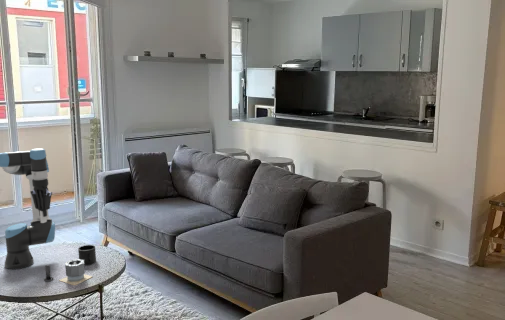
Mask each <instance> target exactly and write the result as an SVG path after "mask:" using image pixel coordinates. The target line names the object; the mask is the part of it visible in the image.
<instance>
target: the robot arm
mask: <svg viewBox="0 0 505 320" xmlns="http://www.w3.org/2000/svg"><path fill="white" fill-rule="evenodd" d="M0 168H2V170H3V171H4V172H5V173H7V174H10V175H13V176H14V175H15V176H16V175H17V176H22V175H24V176H25V178H26V179H28V183H29V184H28V185H29V192H30V202H31V211H32V220H30V221H31V222H30V225H28V224H27V223H24V222H22V223H16V224H12V225H10V226H9V227H6V229H5V230H4V234H5V235H4V239H5V245H6V256H5V260H4V268H6V269H8V270H17V269H19V270H20V269H24V268H27V267H29V266H31V265H33V264H34V257H33V255H32V253H31V251H30V246H36V245H37V246H38V245H44V244H50V243H52V242H54V241H55V236H56V223H55V222H54V221H53V220H52V218H51V217H50V216H49V210H50V208H51V202H52V201H51V200H52V195H53V192H52V191H49V188H48V186H49V178H48V174H49V172H50V168H49V163H48V160H47V153H46V149H45V148H41V147H40V148H39V147H38V148H32V149H30V150H23V151H10V152H9V151H7V152H5V151H4V152H0Z"/></svg>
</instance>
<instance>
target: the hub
mask: <svg viewBox="0 0 505 320" xmlns="http://www.w3.org/2000/svg"><path fill="white" fill-rule="evenodd" d="M73 265H76V262H75V263H73ZM92 278H93V276H92V275H88V274H85V273H84V274H82V275H80V276H76V277H69V276H65V277H63V278H61V279H58V281H59V282H62V283H64V282H65V284H69V285H71V286H77V285H78V284H81V283H83V282H85V281H87V280H90V279H92Z"/></svg>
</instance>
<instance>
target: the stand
mask: <svg viewBox="0 0 505 320" xmlns="http://www.w3.org/2000/svg"><path fill="white" fill-rule="evenodd" d="M44 270H45V271H44V272H45V278H43V282H45V283H48V282H53V280H54V277H52V275H51V265H49V264H46V265H45V266H44Z"/></svg>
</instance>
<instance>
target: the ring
mask: <svg viewBox="0 0 505 320" xmlns="http://www.w3.org/2000/svg"><path fill="white" fill-rule="evenodd" d="M75 262H76V265H73V263H75ZM64 266H65V268H64V269H65V277H67V276H69V277H76V276H80V275H82V274H85V273H86V271H85V270H86V269H85V265H84V260H81V259H79V258H77V259H70V260H68V261H65V265H64Z"/></svg>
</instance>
